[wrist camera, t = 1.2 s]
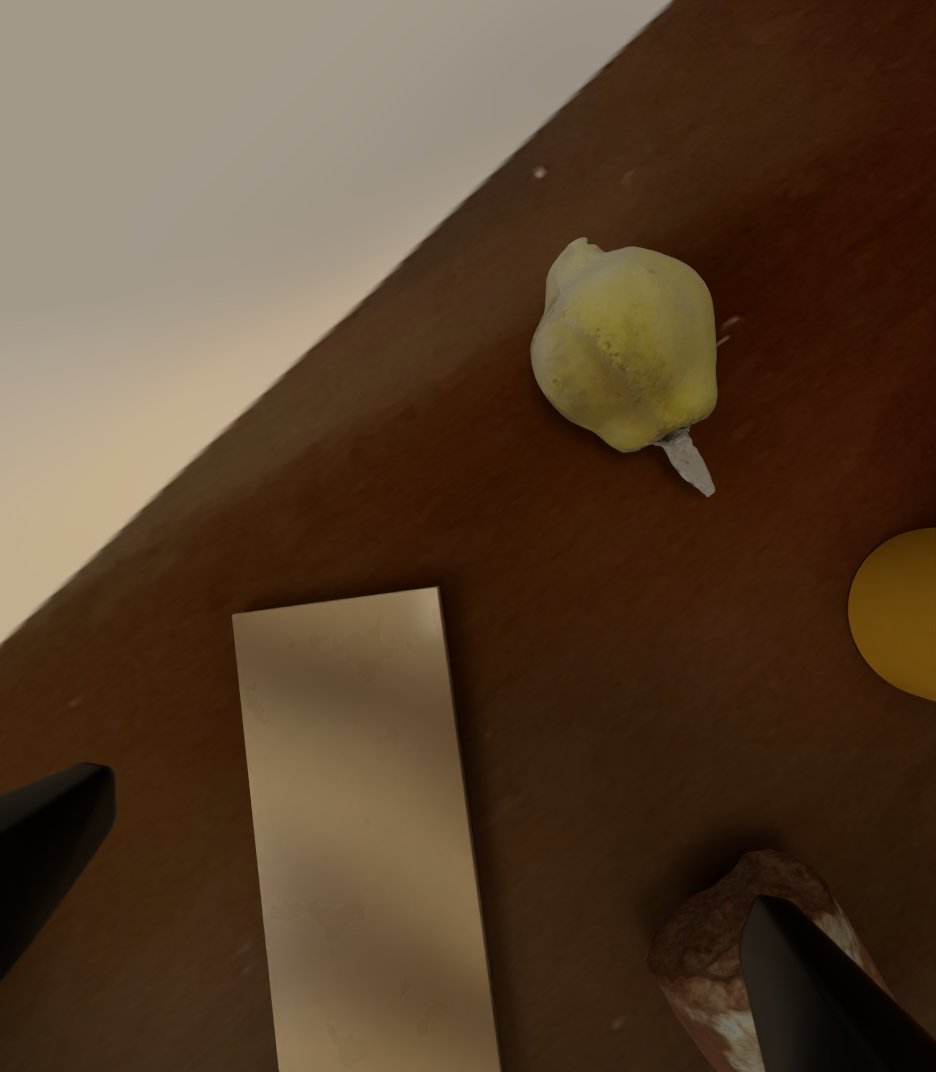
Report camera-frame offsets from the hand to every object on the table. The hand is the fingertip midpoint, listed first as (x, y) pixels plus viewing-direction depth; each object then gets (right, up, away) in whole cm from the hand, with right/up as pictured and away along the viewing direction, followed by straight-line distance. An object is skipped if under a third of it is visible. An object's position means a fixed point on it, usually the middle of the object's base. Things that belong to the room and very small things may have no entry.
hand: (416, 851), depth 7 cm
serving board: (-3, -13, +13) cm, 18 cm away
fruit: (+7, +10, +14) cm, 18 cm away
